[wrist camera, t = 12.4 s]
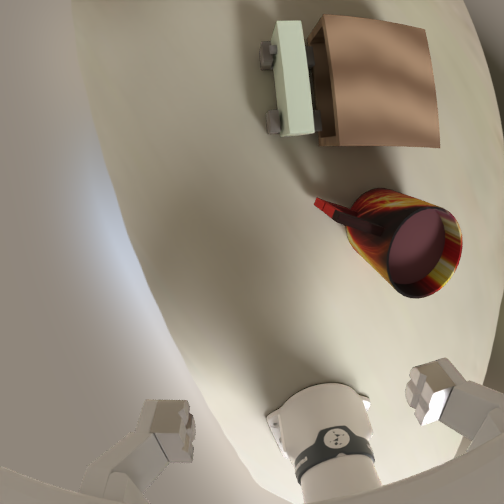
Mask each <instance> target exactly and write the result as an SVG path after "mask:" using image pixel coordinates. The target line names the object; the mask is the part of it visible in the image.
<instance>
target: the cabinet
mask: <svg viewBox="0 0 504 504" xmlns="http://www.w3.org/2000/svg"><path fill="white" fill-rule="evenodd" d="M307 41H308V46H305V51H306V58H307V66H308V69H311V70H312V79H313V87H314V96H315V106H316V110H313V120H314V131H315V132H318V139H319V146H407V147H430V148H440V134H439V120H438V108H437V99H436V90H435V83H434V76H433V69H432V63H431V57H430V52H429V47H428V42H427V37H426V32H425V29H421V28H416V27H412V26H407V25H403V24H398V23H392V22H387V21H381V20H374V19H368V18H360V17H351V16H342V15H330V14H323V16H322V17H321V19H320V20H319V22H318V23H317V25H316V26H315V28H314V29H313V31H312V32H311V34H310V35H309V37H308V38H307ZM269 45H271V41H264V42H261V46H260V51H259V55H260V64H261V70H273V54H270V51H269ZM266 122H267V133H268V134H278V133H280V132H281V130H280V119H279V110H269V111H268V112H267V113H266Z"/></svg>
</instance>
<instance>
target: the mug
mask: <svg viewBox="0 0 504 504" xmlns="http://www.w3.org/2000/svg"><path fill="white" fill-rule="evenodd" d="M314 205H315V206H316V207H317V208H319V209H320V210H321V211H323V212H324V213H325V214H327V215H328V216H329V217H331V218H332V219H333V220H334V221H336V222H337V223H340V224H343V225H345V226H346V230H347V236H348V239H349V242H350V244H351V245H352V247H353V248H354V249H355V250H356V252H357V253H358V254H360V255H361V256H362V257H363V258H364V259H365V260H366V261H367V262H368V263H369V264H370V265H371V266H372V267H373V268H374V269H375V270H376V271H377V272H378V273H379V274H380V275H381V276H382V277H383V278H384V279H385V280H386V281H387V282H388V283H389V284H390V285H391V286H392V287H393V288H394V289H395V290H396V291H397V292H399V293H400V294H402V295H403V296H406V297H409V298H424V297H427V296H429V295H432V294H434V293H435V292H437V291H439V290H440V289H441V288H442V287H443V286H444V285H445V284H446V283H447V282H448V281H449V280H450V278H451V277H452V275H453V274H454V272H455V270H456V268H457V266H458V264H459V261H460V257H461V253H462V234H461V229H460V227H459V224H458V222H457V220H456V219H455V217H454V216H453V215H452V214H451V213H450V212H449V211H447V210H445V209H444V208H441V207H439V206H436V205H433V204H430V203H428V202H425V201H422V200H419V199H416V198H414V197H411V196H408V195H405V194H402V193H399V192H396V191H393V190H390V189H385V188H377V189H372V190H370V191H368V192H365V193H364V194H363V195H361V196H360V197H359V198H358V199H357V200H356V201H355V202H354V204H353V206H352V207H351V209H349V208H346V207H343V206H340V205H337V204H334V203H331V202H328V201H325V200H322V199H320V198H316V200H315V203H314Z"/></svg>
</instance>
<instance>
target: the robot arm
mask: <svg viewBox="0 0 504 504" xmlns="http://www.w3.org/2000/svg"><path fill="white" fill-rule="evenodd" d="M409 376H410V378H411V380H410V381H409V382H408V383H407V385H406V389H405V394H406V399H407V402H408V404H409V406H410V407H412V408H414V409H415V413H414V415H415V416H416V418H417V420H418V422H419V423H420V425H421V426H422V425H425V424H428V423H431V422H434V421H437V420H439V421H440V422H442V423H444V424H445V425H447V426H448V427H450V428H452V429H453V430H455V431H456V432H458V433H460V434H461V435H463V436H464V437H466V438H468V439H470V440H471V441H472V442H471V444H470V445H469V447H468V448H467V451H466V453H465V454H463V455H461V456H458V457H456V458H454V459H452V460H450V461H448V462H445V463H443V464H441V465H439V466H436V467H434V468H431V469H429V470H426V471H424V472H421V473H419V474H416V475H413V476H411V477H408V478H405V479H402V480H399V481H396V482H393V483H390V484H387V485H384V486H383V485H382V483H381V481H380V479H379V476H378V474H377V472H376V469H375V466H374V462H375V459H374V454H373V450H372V448H371V447H370V444H369V440H370V439H371V436H372V435H373V430H372V427H371V424H370V421H369V418H368V415H367V411H368V409H369V407H370V405H371V403H370V399H369V398H367V397H364V396H360V395H358V394H357V393H356V392H355V391H354V390H353V389H352V388H351V387H349V386H346V385H343V384H338V383H326V384H319V385H315V386H312V387H309V388H306V389H304V390H302V391H300V392H298V393H296V394H295V395H293V396H292V397H291V398H289V399H288V400H287V401H286V402H285V403H284V405H283V406H282V407H281V408H279V409H278V410H276V411H274V412H272V413H270V414H269V415H268V416H267V422H268V425H269V427H270V429H271V431H272V433H273V435H274V438H275V440H276V442H277V444H278V446H279V448H280V450H281V452H282V455H283V456H284V458H287V459H290V461H291V463H292V465H293V466H294V468H295V474H296V478H297V480H298V483H299V484H300V485H301V487H302V493H303V499H304V504H504V394H503V393H501V392H498V391H496V390H493V389H490V388H487V387H485V386H482V385H480V384H477V383H475V382H472V381H470V380H469V381H466V380H465V379H464V378H463V376H462V375H461V374H460V373H459V371H458V370H457V369H456V368H455V367H454V365H453V364H452V363H451V362H450V361H449V360H448V359H447V358H442V359H439V360H436V361H432V362H429V363H426V364H423V365H419V366H416V367H413V368H412V369H411V371H410V374H409ZM189 410H190V406H189V403H188V401H187V400H149V399H147V400H145V401H144V403H143V407H142V410H141V413H140V416H139V419H138V423H137V426H136V429H135V432H130V433H129V434H128V435H126V436H125V437H124V438H123V439H121V440H120V441H119V442H118V443H116V444H115V445H114V446H113V447H111V448H110V449H109V450H107V451H106V452H105V453H104V454H102V455H101V456H100V457H98V458H97V459H96V460H95V461H93V462H92V463H91V464H89V465H88V466H87V469H86V471H85V474H84V477H83V480H82V483H81V486H80V488H79V492H74V491H70V490H67V489H63V488H60V487H57V486H54V485H51V484H48V483H44V482H42V481H38V480H36V479H33V478H31V477H28V476H25V475H23V474H20V473H18V472H15V471H13V470H11V469H8V468H6V467H1V466H0V504H151V503H150V502H149V501H148V500H147V499H146V497H145V496H144V495H143V493H144V492H145V491H146V490H147V489H148V488H149V487H150V485H151V484H152V483H153V482H154V481H155V480H156V478H157V477H158V476H159V475H160V474H161V473H162V472H163V470H164V469H165V468H166V467H167V466H168V465H169V462H170V463H192V460H193V452H194V447H193V445H192V441H193V440H194V439H195V433H196V432H195V421H194V418H193V415H192V414H190V413H189Z"/></svg>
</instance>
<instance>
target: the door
mask: <svg viewBox="0 0 504 504" xmlns="http://www.w3.org/2000/svg"><path fill="white" fill-rule="evenodd" d="M269 51H270V54H273V72H274V80H275V90H276V99H277V109H278V110H279V119H280V130H281V132H280V137H285V136H301V135H306V134H311V133H315V131H314V120H313V110H312V100H311V91H310V82H309V74H308V66H307V58H306V51H305V44H304V37H303V30H302V24H301V21H277V22H276V25H275V28H274V31H273V34H272V38H271V45H269Z"/></svg>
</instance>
